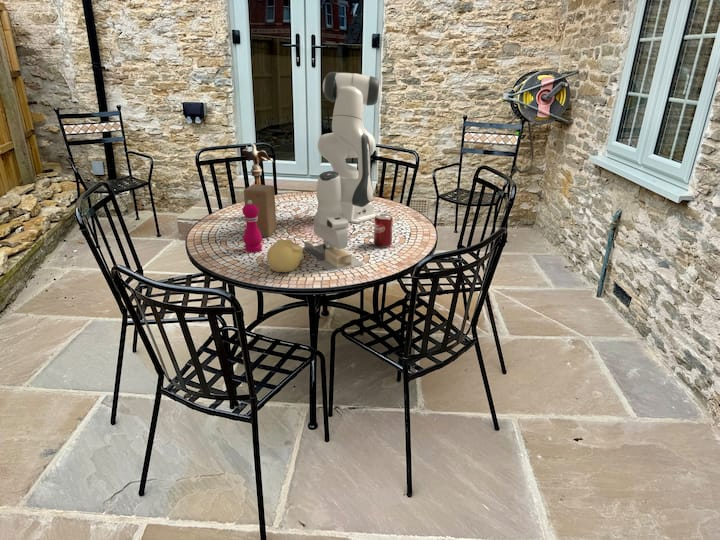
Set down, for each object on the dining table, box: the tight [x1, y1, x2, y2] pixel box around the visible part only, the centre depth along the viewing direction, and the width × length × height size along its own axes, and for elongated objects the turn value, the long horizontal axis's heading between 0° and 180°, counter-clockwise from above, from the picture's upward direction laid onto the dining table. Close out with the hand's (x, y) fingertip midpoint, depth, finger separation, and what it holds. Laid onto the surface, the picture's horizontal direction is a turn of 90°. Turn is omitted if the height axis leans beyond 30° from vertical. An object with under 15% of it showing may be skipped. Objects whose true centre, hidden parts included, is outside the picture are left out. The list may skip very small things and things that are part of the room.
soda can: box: [373, 213, 394, 248], centre depth 193 cm, size 7×7×12 cm
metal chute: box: [303, 239, 335, 261], centre depth 185 cm, size 10×14×3 cm
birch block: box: [325, 247, 353, 268], centre depth 176 cm, size 6×9×4 cm, turn 31°
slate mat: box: [316, 256, 364, 274], centre depth 176 cm, size 14×10×1 cm
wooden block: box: [243, 183, 278, 238], centre depth 201 cm, size 10×10×20 cm
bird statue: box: [241, 142, 275, 185], centre depth 220 cm, size 17×13×35 cm
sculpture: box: [266, 239, 304, 273], centre depth 170 cm, size 12×12×11 cm
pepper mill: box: [242, 200, 263, 253], centre depth 184 cm, size 7×7×20 cm
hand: (329, 252), depth 181 cm, fingers closed
